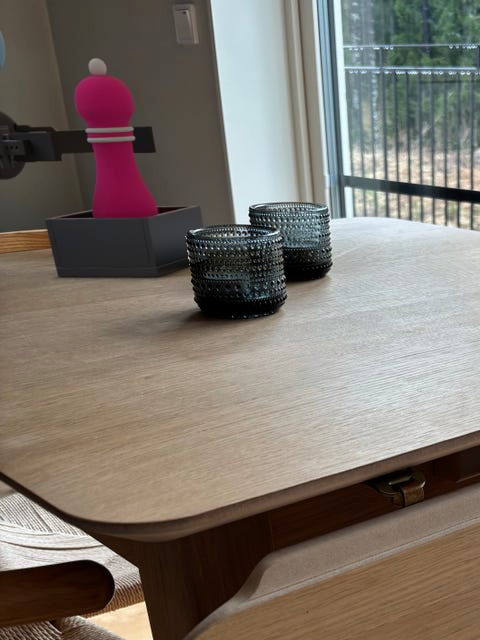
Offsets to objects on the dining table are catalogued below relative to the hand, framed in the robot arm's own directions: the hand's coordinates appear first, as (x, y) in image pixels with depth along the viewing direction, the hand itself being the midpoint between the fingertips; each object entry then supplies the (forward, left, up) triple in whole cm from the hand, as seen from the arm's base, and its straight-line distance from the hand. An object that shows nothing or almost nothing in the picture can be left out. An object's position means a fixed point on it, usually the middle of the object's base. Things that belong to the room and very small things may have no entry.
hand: (106, 143), depth 107 cm
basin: (+1, 0, -13) cm, 13 cm away
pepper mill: (+1, 0, -12) cm, 12 cm away
